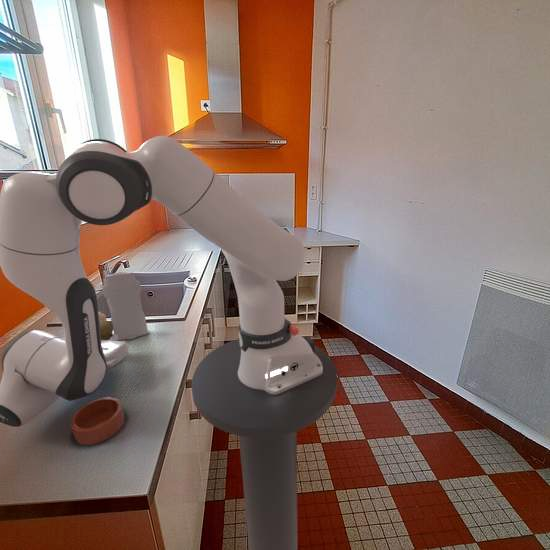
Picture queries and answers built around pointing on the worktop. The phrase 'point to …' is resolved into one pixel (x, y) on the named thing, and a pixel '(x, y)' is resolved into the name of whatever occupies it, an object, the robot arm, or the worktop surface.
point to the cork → (105, 329)
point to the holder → (97, 420)
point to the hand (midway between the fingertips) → (106, 335)
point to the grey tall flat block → (125, 305)
